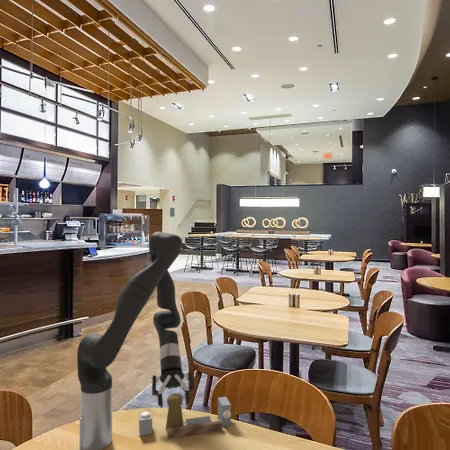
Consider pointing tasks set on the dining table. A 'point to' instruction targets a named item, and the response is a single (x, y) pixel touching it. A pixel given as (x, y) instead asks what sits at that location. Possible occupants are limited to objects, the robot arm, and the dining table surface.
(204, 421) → the mat
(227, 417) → the far end cabinet
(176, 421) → the olive pawn
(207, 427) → the handrail
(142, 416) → the near end cabinet
